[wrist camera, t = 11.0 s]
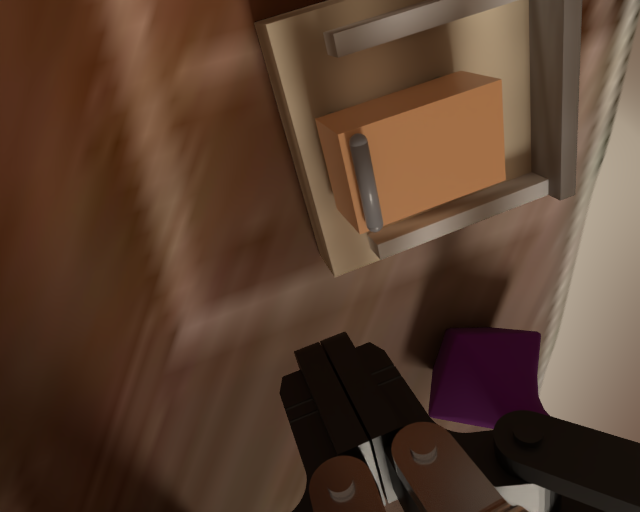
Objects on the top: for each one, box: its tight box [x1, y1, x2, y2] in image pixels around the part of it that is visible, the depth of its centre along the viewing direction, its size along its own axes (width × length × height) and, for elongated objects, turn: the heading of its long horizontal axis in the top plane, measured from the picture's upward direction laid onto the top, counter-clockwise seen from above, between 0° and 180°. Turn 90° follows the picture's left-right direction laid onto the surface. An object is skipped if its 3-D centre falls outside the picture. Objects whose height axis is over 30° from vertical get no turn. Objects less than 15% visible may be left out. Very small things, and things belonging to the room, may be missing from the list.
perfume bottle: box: [428, 327, 550, 429], centre depth 32 cm, size 8×8×18 cm
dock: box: [254, 0, 582, 277], centre depth 26 cm, size 15×14×6 cm
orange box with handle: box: [315, 71, 506, 234], centre depth 24 cm, size 8×5×5 cm, turn 103°
